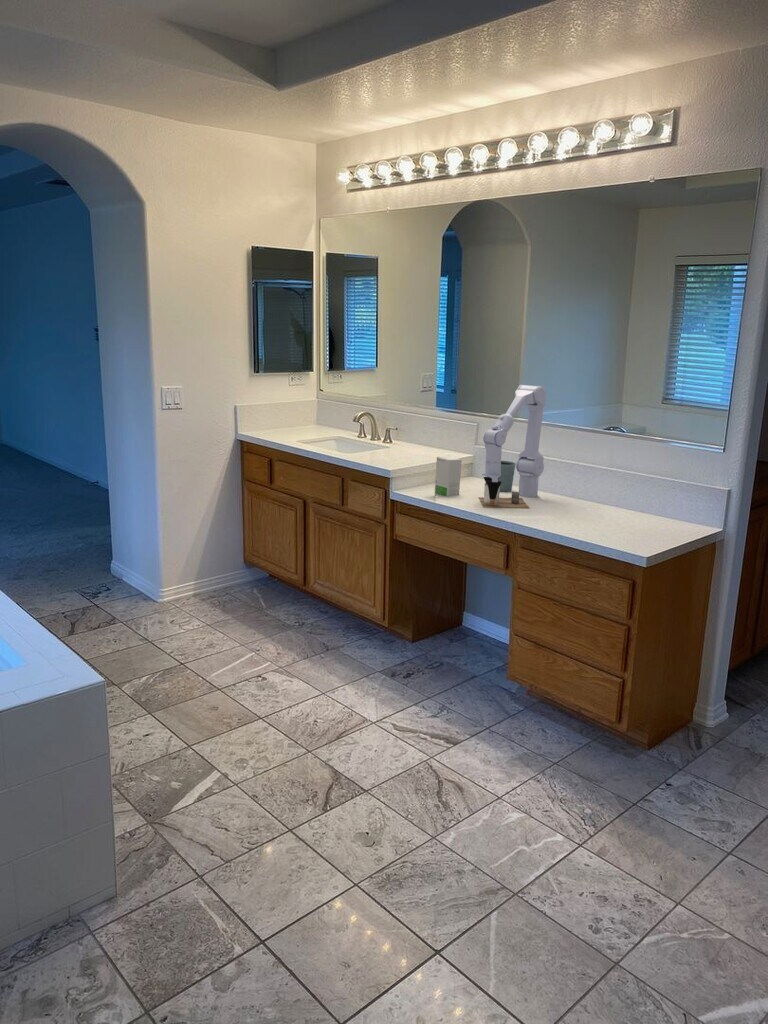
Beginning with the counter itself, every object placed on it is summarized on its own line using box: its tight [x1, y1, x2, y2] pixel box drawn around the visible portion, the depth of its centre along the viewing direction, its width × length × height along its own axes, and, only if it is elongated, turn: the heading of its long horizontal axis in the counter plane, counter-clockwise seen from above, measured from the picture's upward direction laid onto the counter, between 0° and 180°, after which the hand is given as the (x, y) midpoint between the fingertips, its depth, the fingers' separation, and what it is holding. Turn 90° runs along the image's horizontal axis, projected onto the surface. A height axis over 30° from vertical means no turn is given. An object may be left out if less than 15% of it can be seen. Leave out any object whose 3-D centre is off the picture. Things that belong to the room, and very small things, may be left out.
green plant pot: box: [498, 460, 516, 493], centre depth 327 cm, size 10×10×12 cm
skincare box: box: [434, 455, 463, 497], centre depth 316 cm, size 8×7×16 cm
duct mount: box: [478, 491, 531, 510], centre depth 303 cm, size 18×17×5 cm
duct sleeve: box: [483, 482, 501, 504], centre depth 303 cm, size 6×6×7 cm
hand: (491, 497), depth 303 cm, fingers closed on duct sleeve, 6 cm apart
